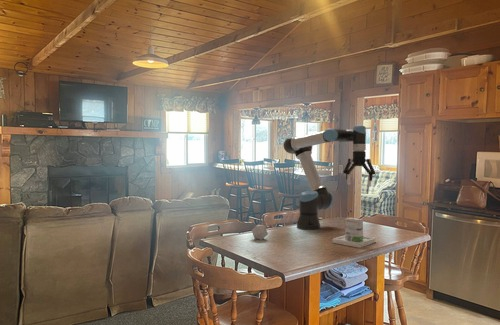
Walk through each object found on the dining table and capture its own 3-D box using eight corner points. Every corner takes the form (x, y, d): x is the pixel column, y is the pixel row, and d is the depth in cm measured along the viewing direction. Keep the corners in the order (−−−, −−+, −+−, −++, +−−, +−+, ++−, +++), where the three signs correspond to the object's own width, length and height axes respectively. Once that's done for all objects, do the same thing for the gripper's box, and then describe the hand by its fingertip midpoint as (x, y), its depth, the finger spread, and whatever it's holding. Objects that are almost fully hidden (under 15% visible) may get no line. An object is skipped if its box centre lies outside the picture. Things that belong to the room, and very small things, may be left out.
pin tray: (332, 242, 205) (332, 234, 205) (349, 237, 218) (349, 229, 218) (360, 247, 194) (360, 238, 194) (375, 242, 207) (375, 233, 207)
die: (270, 240, 213) (267, 224, 218) (265, 235, 206) (262, 219, 211) (257, 244, 214) (254, 229, 220) (251, 240, 207) (248, 224, 213)
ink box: (363, 240, 205) (363, 219, 204) (358, 242, 201) (358, 220, 201) (349, 238, 211) (350, 216, 211) (344, 239, 208) (344, 217, 208)
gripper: (338, 150, 239) (337, 184, 240) (376, 150, 222) (375, 187, 223) (344, 151, 245) (343, 183, 245) (381, 151, 228) (380, 186, 228)
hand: (358, 185), depth 234 cm, fingers open, 13 cm apart
